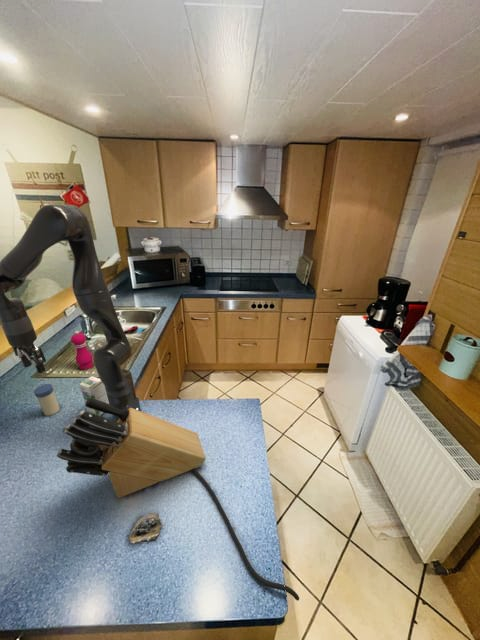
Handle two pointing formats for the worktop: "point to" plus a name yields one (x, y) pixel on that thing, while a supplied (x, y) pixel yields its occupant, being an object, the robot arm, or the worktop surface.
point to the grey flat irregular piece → (146, 528)
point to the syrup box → (94, 392)
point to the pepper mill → (82, 351)
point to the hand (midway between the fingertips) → (35, 369)
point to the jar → (49, 404)
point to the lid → (43, 390)
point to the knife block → (129, 448)
